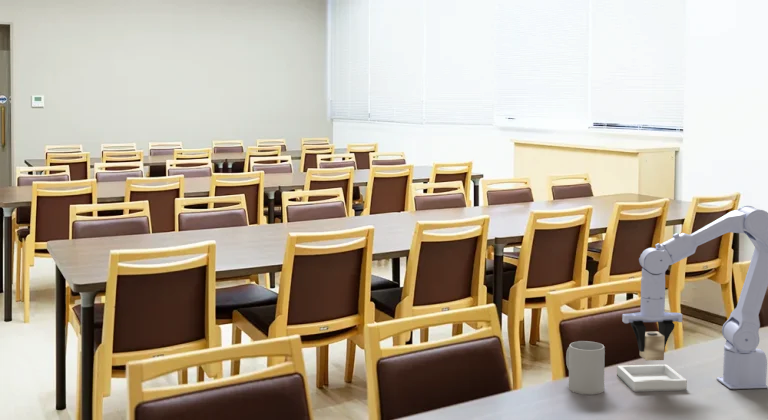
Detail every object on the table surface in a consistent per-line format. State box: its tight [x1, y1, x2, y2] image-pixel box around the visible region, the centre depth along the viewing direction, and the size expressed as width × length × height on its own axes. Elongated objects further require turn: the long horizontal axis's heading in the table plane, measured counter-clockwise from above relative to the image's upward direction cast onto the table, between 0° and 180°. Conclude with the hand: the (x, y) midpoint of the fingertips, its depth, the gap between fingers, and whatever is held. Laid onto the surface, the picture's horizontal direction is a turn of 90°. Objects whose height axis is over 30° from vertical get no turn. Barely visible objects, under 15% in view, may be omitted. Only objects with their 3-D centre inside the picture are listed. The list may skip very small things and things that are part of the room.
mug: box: [565, 340, 606, 396], centre depth 206 cm, size 12×8×11 cm
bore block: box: [639, 331, 665, 362], centre depth 208 cm, size 4×4×6 cm
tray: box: [616, 364, 688, 393], centre depth 210 cm, size 13×13×2 cm
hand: (651, 350), depth 209 cm, fingers closed on bore block, 4 cm apart
